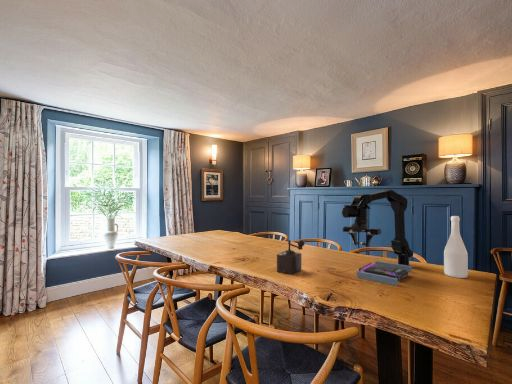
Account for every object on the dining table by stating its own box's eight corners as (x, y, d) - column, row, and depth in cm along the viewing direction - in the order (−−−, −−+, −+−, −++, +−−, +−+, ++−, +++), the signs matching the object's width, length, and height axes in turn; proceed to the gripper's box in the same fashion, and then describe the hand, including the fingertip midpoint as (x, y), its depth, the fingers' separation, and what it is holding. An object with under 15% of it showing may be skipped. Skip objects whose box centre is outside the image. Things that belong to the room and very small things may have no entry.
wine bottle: (446, 271, 139) (445, 215, 139) (469, 275, 132) (468, 216, 132) (442, 275, 132) (441, 216, 132) (466, 280, 125) (465, 217, 126)
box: (358, 274, 137) (399, 283, 123) (358, 268, 137) (398, 275, 123) (370, 269, 146) (408, 276, 132) (370, 262, 146) (408, 269, 132)
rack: (375, 265, 150) (375, 260, 150) (411, 272, 138) (411, 266, 138) (357, 277, 129) (356, 271, 129) (397, 286, 117) (397, 279, 117)
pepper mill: (275, 272, 139) (275, 238, 139) (284, 267, 148) (284, 235, 148) (303, 277, 130) (302, 241, 130) (311, 271, 140) (310, 237, 140)
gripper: (338, 217, 142) (338, 245, 142) (374, 219, 130) (374, 250, 130) (346, 216, 151) (346, 243, 150) (381, 218, 138) (381, 247, 138)
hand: (361, 246), depth 142 cm, fingers open, 6 cm apart
